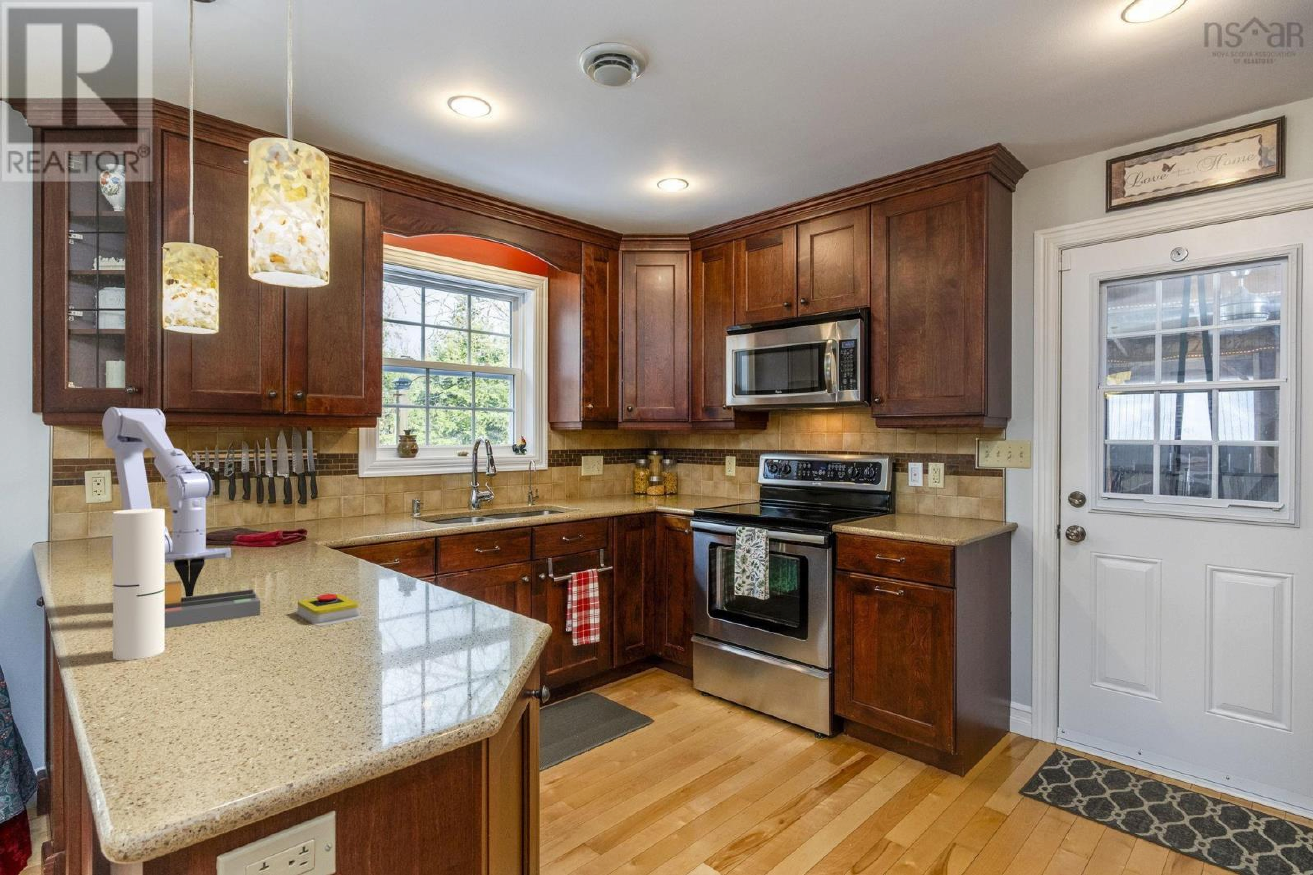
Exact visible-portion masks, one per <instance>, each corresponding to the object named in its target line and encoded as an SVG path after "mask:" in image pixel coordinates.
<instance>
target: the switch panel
mask: <svg viewBox="0 0 1313 875" xmlns="http://www.w3.org/2000/svg"><path fill="white" fill-rule="evenodd" d="M259 598H260V597H259V596H258V595H257V593H256V591H255V589H253V588H252V589H245V590H244V589H243V590H236V591H234V590H233V591H228V592H227V591H225V592H220V593H218V592H217V593H209V594H201V595H193V596H190V597H186V596H184V597H181V602H180V603H171V604H165V629H167V628H174V627H180V626H189V625H196V624H197V625H198V624H203V623H204V624H205V623H209V622H210V623H211V622H217V621H224V620H230V619H231V620H233V619H241V618H247V617H248V618H249V617H255V616H261V600H260V599H259Z"/></svg>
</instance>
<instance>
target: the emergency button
mask: <svg viewBox="0 0 1313 875" xmlns="http://www.w3.org/2000/svg"><path fill="white" fill-rule="evenodd" d="M294 614H295V615H297V614H298V615H297V616H299V617H301V618H303V619H304V618H305V619H304V620H305V621H308V622H309V623H310V624H312V625H315V626H316V627H325V626H330V625H332V626H333V625H337V624H343V623H346V622H351V621H356V620H361V619H364V616H363V615H361V613H360V604H359V602H357V601H355V600H353V599H351V598H349V597H347V596H345V595H342V594H335V593H327V594H326V593H325V594H321V595H318V596H317V597H314V598H308V599H301V600H298V602H297V610H296V611H295V612H294Z"/></svg>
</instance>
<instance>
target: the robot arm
mask: <svg viewBox="0 0 1313 875" xmlns="http://www.w3.org/2000/svg"><path fill="white" fill-rule="evenodd" d="M166 424H167V423H166V417H165V414H164V413H163V411H162V410H161V409H160V408H156V407H155V408H135V407H134V408H133V407H132V408H131V407H115V406H111V407H109V408H108V409H107V410H106V411H105V413H104V415H103V418H102V422H101V426H102V433H103V438H104V439H103V440H104V443H105V447H106V448H108V449H110V450H112V451H113V456H114V457H113V458H114V462H115V467H116V468H115V470H116V474H117V480H118V486H119V493H120V497H121V505H122V510H132V509H153V508H152V501H151V496H150V495H151V494H150V491H149V490H150V489H149V484H148V483H149V482H148V477H147V472H146V466H145V461H144V454H143V453H144V451H145V450H147V449H149V450H150V451H151V452H152V454H153V455H154V456H155V458H154V461H153V464H154V466H155V467H156V469H157V470H158V472H159V473H160V475H161V476H162V478H163V479H164V482H166V486H165V492H166V495H167V496H166V497H167V498H168V507H169V509H170V510H172V512H171V513H172V515H171V516H172V518H171V520H172V522H171V523H172V531H171V532H172V535H171V536H172V538H171V536H170V533H169V529H168V527H167V526H166V525H165V565H167V564H170V563H173V566H174V568H175V570H176V572H177V574H178V575H179V577H180V581H181V583H182V585H183V587H184V594H185V597H191V596H194V590H195V587H196V583H197V581H198V578H199V576H200V573H201V571H202V570H203V568H204V566H205V564H206V561H205V560H215V559H229V558H230V559H231V558H232V556H231V555H232V554H231V553H232V550H231V549H232V548H231V547H221V548H220V547H215V548H212V547H211V548H206V547H207V546H206V545H207V542H206V541H207V534H206V533H207V525H206V524H207V501H206V500H207V499H209V498H210V497H211V495H212V492H213V480H212V478H211V476H210V474H209V473H208V472H206V471H202V470H201V469H197V468H196V467H195V466H194V464H193V463H192V461H191V460H190V459H189V457H188V456H187V454H186V453H185V452H184V451H183V449H180V448H175V447H174V446H173V444H172V442H171V440H170V438H169V436H168V434H167V432H166ZM110 556H111V560H112V561H113V535H112V536H111V550H110Z"/></svg>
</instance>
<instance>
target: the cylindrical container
mask: <svg viewBox="0 0 1313 875" xmlns="http://www.w3.org/2000/svg"><path fill="white" fill-rule="evenodd" d="M165 510H166V509H165V508H152V509H132V510H123V509H122V510H117V511H113V512H112V536H113V560H112V571H113V572H112V659H113V660H115V659H116V660H115V661H123V660H124V661H135V660H134V659H137V660H142V659H143V660H144V659H146V658H151V657H155V656H157V655H160V654H162V653H163V652H165V647H166V646H165V645H166V644H165V643H166V642H165V636H166V635H165V634H166V633H165V632H166V631H165V629H166V628H165V582H166V580H165V579H166V577H165V574H166V572H165V571H166V568H165V567H166V566H165V565H166V564H165V526H166V522H165V521H166V517H165V516H166V514H165V512H166V511H165Z"/></svg>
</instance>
